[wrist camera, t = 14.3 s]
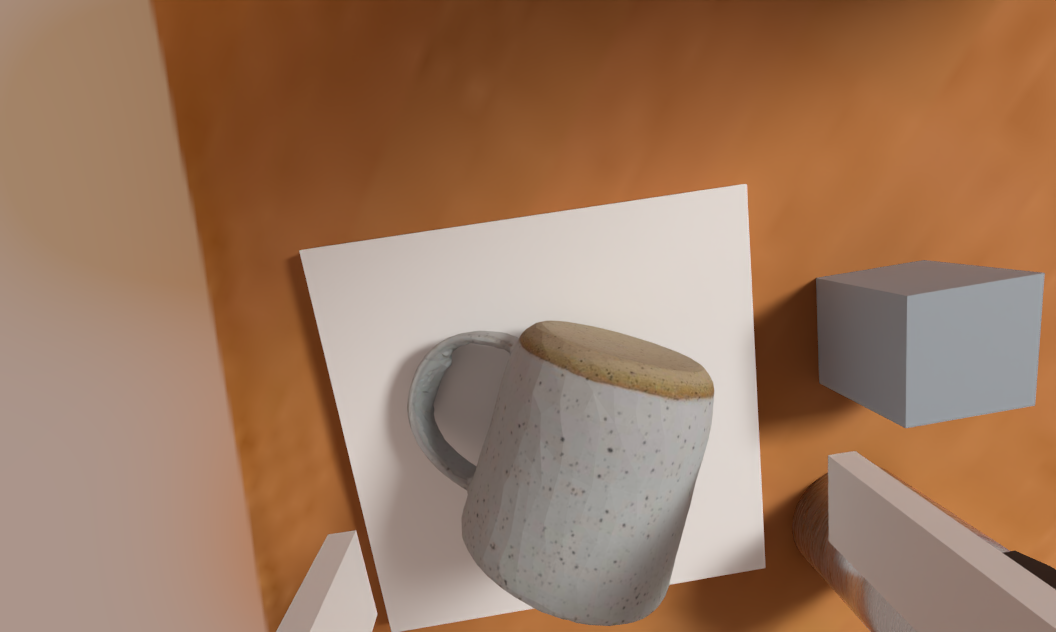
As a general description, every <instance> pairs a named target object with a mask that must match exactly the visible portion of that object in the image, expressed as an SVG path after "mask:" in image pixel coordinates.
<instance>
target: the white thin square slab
mask: <svg viewBox="0 0 1056 632" xmlns="http://www.w3.org/2000/svg"><path fill="white" fill-rule="evenodd" d="M299 252H300V256H301V260H302V264H303V268H304V273H305V277H306V281H307V285H308V289H309V293H310V297H311V301H312V306H313V310H314V314H315V318H316V322H317V326H318V330H319V334H320V339H321V343H322V347H323V351H324V355H325V359H326V363H327V368H328V372H329V376H330V380H331V384H332V388H333V392H334V396H335V401H336V405H337V409H338V413H339V417H340V421H341V425H342V429H343V434H344V438H345V442H346V446H347V450H348V454H349V458H350V463H351V467H352V471H353V475H354V479H355V483H356V487H357V491H358V496H359V500H360V504H361V508H362V512H363V516H364V520H365V525H366V529H367V533H368V537H369V541H370V545H371V549H372V553H373V558H374V562H375V566H376V570H377V574H378V578H379V582H380V586H381V591H382V595H383V599H384V603H385V607H386V611H387V615H388V620H389V624H390V628H391V632H401V631H406V630H412V629H418V628H424V627H429V626H435V625H441V624H447V623H452V622H458V621H464V620H470V619H475V618H481V617H487V616H493V615H498V614H504V613H510V612H516V611H521V610H527V609H533V607H531V606H529V605H528V604H526V603H524V602H522V601H521V600H519V599H517V598H515V597H514V596H512V595H511V594H509V593H508V592H506V591H505V590H503V589H502V588H501V587H500V586H498V585H497V584H496V583H495V582H494V581H493V580H491V579H490V578H489V577H488V576H487V575H486V574H485V573H484V572H483V571H482V570H481V568H480V567H479V566H477V564H476V563H475V561H474V560H473V558H472V556H471V555H470V553H469V551H468V550H467V547H466V545H465V543H464V541H463V538H462V519H461V518H462V513H463V509H464V506H465V503H466V500H467V496H468V493H467V490H465V489H464V488H462V487H460V486H459V485H458V484H456V483H455V482H453V481H452V480H450V479H449V478H448V477H447V476H445V475H444V474H443V473H442V472H440V471H439V470H438V469H437V468H436V467H435V466H434V465H433V464H432V463H431V462H430V460H429V459H428V458H427V457H426V455H425V454H424V453H423V451H422V450H421V448H420V447H419V445H418V443H417V442H416V439H415V437H414V435H413V433H412V430H411V427H410V424H409V419H408V412H407V403H408V395H409V390H410V386H411V382H412V379H413V376H414V373H415V371H416V369H417V367H418V365H419V363H420V362H421V361H422V359H423V358H424V356H425V355H426V354H427V352H429V351H430V350H431V349H432V348H433V347H434V346H436V345H437V344H438V343H439V342H441V341H443V340H445V339H447V338H449V337H451V336H455V335H457V334H460V333H466V332H473V331H493V332H503V333H508V334H510V335H512V336H515V337H518V338H520V336H521V334H522V333H523V332H524V331H525V330H526V329H527V328H529V327H530V326H532V325H533V324H535V323H538V322H543V321H565V322H572V323H578V324H583V325H589V326H594V327H598V328H603V329H607V330H611V331H615V332H619V333H622V334H626V335H629V336H632V337H636V338H639V339H642V340H645V341H649V342H652V343H655V344H657V345H660V346H663V347H666V348H668V349H671V350H674V351H676V352H679V353H681V354H683V355H685V356H687V357H689V358H691V359H693V360H694V361H696V362H698V363H699V364H701V365H702V366H703V367H704V368H705V370H706V371H707V372H708V374H709V375H710V377H711V379H712V381H713V385H714V403H713V416H712V424H711V429H710V434H709V439H708V443H707V446H706V450H705V453H704V456H703V460H702V463H701V467H700V470H699V473H698V476H697V480H696V483H695V487H694V491H693V496H692V500H691V504H690V508H689V511H688V515H687V518H686V522H685V526H684V529H683V533H682V537H681V541H680V544H679V548H678V551H677V555H676V558H675V563H674V567H673V571H672V575H671V579H670V583H669V585H671V584H676V583H682V582H688V581H694V580H699V579H705V578H711V577H717V576H722V575H728V574H734V573H740V572H745V571H751V570H757V569H763V568H766V566H765V546H764V525H763V505H762V484H761V464H760V443H759V423H758V403H757V382H756V362H755V341H754V321H753V300H752V280H751V260H750V239H749V219H748V198H747V184H742V185H734V186H727V187H721V188H714V189H707V190H700V191H694V192H687V193H680V194H673V195H667V196H660V197H653V198H647V199H640V200H633V201H626V202H620V203H613V204H606V205H599V206H593V207H586V208H579V209H572V210H566V211H559V212H552V213H546V214H539V215H532V216H525V217H519V218H512V219H505V220H498V221H492V222H485V223H478V224H471V225H465V226H458V227H451V228H445V229H438V230H431V231H424V232H418V233H411V234H404V235H397V236H391V237H384V238H377V239H371V240H364V241H357V242H350V243H344V244H337V245H330V246H323V247H317V248H310V249H304V250H299ZM509 358H510V353H509V352H507V351H506V350H504V349H498V348H496V347H494V346H487V345H479V344H473V343H470V344H467V345H463V346H460V347H458V348H457V349H456V350H455V351H453V353H452V364H451V366H450V367H449V368H447V369H446V371H445V373H444V375H443V377H442V379H441V383H440V386H439V389H438V392H437V395H436V398H435V401H434V417H435V421H436V423H437V426H438V428H439V430H440V432H441V433H442V435H443V437H444V439H445V440H446V441H447V442H448V443H449V444H450V445H451V446H452V447H453V448H454V449H455V450H456V451H457V452H458V453H459V454H460V455H461V456H462V457H464V458H465V459H467V460H468V461H469V462H471V463H472V464H474V465H475V466H477V464H478V460H479V456H480V453H481V450H482V447H483V444H484V441H485V438H486V435H487V432H488V429H489V426H490V423H491V419H492V415H493V412H494V408H495V404H496V400H497V396H498V392H499V388H500V385H501V381H502V378H503V375H504V372H505V368H506V365H507V362H508V360H509Z"/></svg>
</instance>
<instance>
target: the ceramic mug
mask: <svg viewBox="0 0 1056 632" xmlns="http://www.w3.org/2000/svg"><path fill="white" fill-rule="evenodd" d="M470 343H473V344H479V345H487V346H494V347H496V348H498V349H504V350H506V351H507V352H509V353H510V358H509V360H508V362H507V365H506V368H505V372H504V375H503V378H502V381H501V385H500V388H499V392H498V396H497V400H496V404H495V408H494V412H493V415H492V419H491V423H490V426H489V429H488V432H487V435H486V438H485V441H484V444H483V447H482V450H481V453H480V456H479V460H478V464H477V466H475V465H474V464H472V463H471V462H469V461H468V460H467V459H465V458H464V457H462V456H461V455H460V454H459V453H458V452H457V451H456V450H455V449H454V448H453V447H452V446H451V445H450V444H449V443H448V442H447V441H446V440H445V439H444V437H443V435H442V433H441V432H440V430H439V428H438V426H437V423H436V421H435V417H434V401H435V398H436V395H437V392H438V389H439V386H440V383H441V379H442V377H443V375H444V373H445V371H446V369H447V368H449V367H450V366H451V364H452V353H453V351H455V350H456V349H457V348H458V347H460V346H463V345H467V344H470ZM713 403H714V385H713V381H712V379H711V377H710V375H709V374H708V372H707V371H706V370H705V368H704V367H703V366H702V365H701V364H699V363H698V362H696V361H694V360H693V359H691V358H689V357H687V356H685V355H683V354H681V353H679V352H676V351H674V350H671V349H668V348H666V347H663V346H660V345H657V344H655V343H652V342H649V341H645V340H642V339H639V338H636V337H632V336H629V335H626V334H622V333H619V332H615V331H611V330H607V329H603V328H598V327H594V326H589V325H583V324H578V323H572V322H565V321H543V322H538V323H535V324H533V325H532V326H530V327H529V328H527V329H526V330H525V331H524V332H523V333H522V334H521V336H520V338H518V337H515V336H512V335H510V334H508V333H503V332H493V331H473V332H466V333H460V334H457V335H455V336H451V337H449V338H447V339H445V340H443V341H441V342H439V343H438V344H437V345H436V346H434V347H433V348H432V349H431V350H430V351H429V352H427V354H426V355H425V356H424V358H423V359H422V361H421V362H420V363H419V365H418V367H417V369H416V371H415V373H414V376H413V379H412V382H411V386H410V390H409V395H408V403H407V412H408V419H409V424H410V427H411V430H412V433H413V435H414V437H415V439H416V442H417V443H418V445H419V447H420V448H421V450H422V451H423V453H424V454H425V455H426V457H427V458H428V459H429V460H430V462H431V463H432V464H433V465H434V466H435V467H436V468H437V469H438V470H439V471H440V472H442V473H443V474H444V475H445V476H447V477H448V478H449V479H450V480H452V481H453V482H455V483H456V484H458V485H459V486H460V487H462V488H464V489H465V490H467V493H468V496H467V500H466V503H465V506H464V509H463V513H462V518H461V519H462V538H463V541H464V543H465V545H466V547H467V550H468V551H469V553H470V555H471V556H472V558H473V560H474V561H475V563H476V564H477V566H479V567H480V568H481V570H482V571H483V572H484V573H485V574H486V575H487V576H488V577H489V578H490V579H491V580H493V581H494V582H495V583H496V584H497V585H498V586H500V587H501V588H502V589H503V590H505V591H506V592H508V593H509V594H511V595H512V596H514V597H515V598H517V599H519V600H521V601H522V602H524V603H526V604H528V605H529V606H531V607H533V608H535V609H537V610H539V611H541V612H544V613H547V614H550V615H553V616H555V617H558V618H561V619H565V620H570V621H573V622H576V623H581V624H588V625H603V626H612V625H620V624H627V623H632V622H635V621H638V620H640V619H643V618H645V617H646V616H648V615H649V614H651V613H652V612H653V611H654V610H655V609H656V608H657V607H658V606H659V605H660V603H661V602H662V600H663V599H664V597H665V595H666V592H667V590H668V587H669V583H670V579H671V575H672V571H673V567H674V563H675V558H676V555H677V551H678V548H679V544H680V541H681V537H682V533H683V529H684V526H685V522H686V518H687V515H688V511H689V508H690V504H691V500H692V496H693V491H694V487H695V483H696V480H697V476H698V473H699V470H700V467H701V463H702V460H703V456H704V453H705V450H706V446H707V443H708V439H709V434H710V429H711V424H712V416H713Z"/></svg>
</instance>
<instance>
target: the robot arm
mask: <svg viewBox="0 0 1056 632" xmlns="http://www.w3.org/2000/svg"><path fill="white" fill-rule="evenodd" d="M828 515H829V542H830V543H831V544H832V545H833V546H834V547H835V548H836V549H837V550H838V551H839V552H840V553H841V554H842V555H843V556H844V558H845V559H846V560H847V561H848V562H849V563H850V564H851V565H852V566H853V567H854V568H855V569H856V570H857V571H858V572H859V573H860V574H861V575H862V576H863V577H864V578H865V579H866V580H867V581H868V582H869V583H870V584H871V585H872V586H873V587H874V588H875V589H876V590H877V591H878V592H879V593H880V594H881V595H882V596H883V597H884V599H885V600H886V601H887V602H888V603H889V604H890V605H891V606H892V607H893V608H894V609H895V610H896V611H897V612H898V613H899V614H900V615H901V616H902V617H903V618H904V619H905V620H906V621H907V622H908V623H909V624H910V625H911V626H912V627H913V628H914V629H915V630H916V631H917V632H1056V570H1055V569H1054V568H1052V567H1051V566H1048V565H1046V564H1044V563H1042V562H1039V561H1037V560H1035V559H1033V558H1030V557H1028V556H1026V555H1023V554H1021V553H1019V552H1017V551H1010V552H1004V553H1002V552H1000V551H999V550H998V549H996V548H995V547H993V546H992V545H990V544H989V543H987V542H986V541H984V540H983V539H982V538H980V537H979V536H977V535H976V534H974V533H973V532H971V531H970V530H969V529H967V528H966V527H964V526H963V525H961V524H960V523H958V522H957V521H956V520H954V519H953V518H951V517H950V516H948V515H947V514H945V513H944V512H943V511H941V510H940V509H938V508H937V507H935V506H934V505H932V504H931V503H930V502H928V501H927V500H925V499H924V498H922V497H921V496H919V495H918V494H917V493H915V492H914V491H912V490H911V489H909V488H908V487H906V486H905V485H904V484H902V483H901V482H899V481H898V480H896V479H895V478H893V477H892V476H890V475H889V474H888V473H886V472H885V471H883V470H882V469H880V468H879V467H877V466H876V465H875V464H873V463H872V462H870V461H869V460H867V459H866V458H864V457H863V456H862V455H860V454H859V453H857V452H856V451H852V452H846V453H840V454H833V455H828ZM376 617H377V610H376V607H375V603H374V599H373V595H372V591H371V587H370V583H369V579H368V575H367V571H366V567H365V563H364V559H363V555H362V552H361V548H360V544H359V540H358V536H357V532H356V530H354V531H348V532H342V533H335V534H329V535H328V536H327V537H326V539H325V541H324V543H323V545H322V547H321V549H320V551H319V552H318V554H317V556H316V558H315V560H314V562H313V564H312V566H311V567H310V569H309V571H308V573H307V575H306V577H305V579H304V581H303V582H302V584H301V586H300V588H299V590H298V592H297V594H296V595H295V597H294V599H293V601H292V603H291V605H290V607H289V609H288V610H287V612H286V614H285V616H284V618H283V620H282V622H281V624H280V625H279V627H278V629H277V631H276V632H372V630H373V627H374V624H375V621H376Z"/></svg>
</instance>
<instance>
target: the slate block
mask: <svg viewBox="0 0 1056 632" xmlns="http://www.w3.org/2000/svg"><path fill="white" fill-rule="evenodd" d="M1043 287H1044V273H1040V272H1030V271H1021V270H1012V269H1002V268H993V267H983V266H974V265H964V264H955V263H946V262H936V261H927V260H922V261H916V262H910V263H904V264H898V265H892V266H886V267H880V268H874V269H868V270H862V271H855V272H849V273H843V274H837V275H831V276H825V277H819V278H816V291H817V325H818V359H819V383H820V384H822V385H824V386H826V387H828V388H829V389H831V390H833V391H835V392H837V393H839V394H841V395H843V396H845V397H847V398H849V399H851V400H852V401H854V402H856V403H858V404H860V405H862V406H864V407H866V408H868V409H870V410H872V411H874V412H876V413H877V414H879V415H881V416H883V417H885V418H887V419H889V420H891V421H893V422H895V423H897V424H899V425H900V426H902V427H904V428H909V427H915V426H921V425H926V424H932V423H938V422H944V421H949V420H955V419H961V418H966V417H972V416H978V415H983V414H989V413H995V412H1000V411H1006V410H1012V409H1017V408H1023V407H1029V406H1035V399H1036V385H1037V371H1038V357H1039V343H1040V329H1041V315H1042V301H1043Z"/></svg>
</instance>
